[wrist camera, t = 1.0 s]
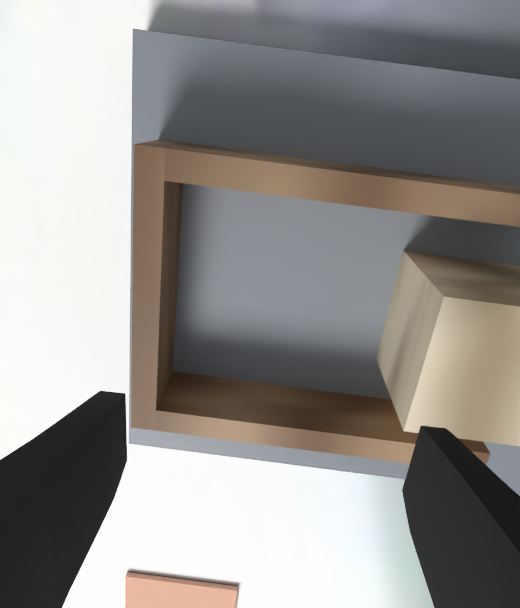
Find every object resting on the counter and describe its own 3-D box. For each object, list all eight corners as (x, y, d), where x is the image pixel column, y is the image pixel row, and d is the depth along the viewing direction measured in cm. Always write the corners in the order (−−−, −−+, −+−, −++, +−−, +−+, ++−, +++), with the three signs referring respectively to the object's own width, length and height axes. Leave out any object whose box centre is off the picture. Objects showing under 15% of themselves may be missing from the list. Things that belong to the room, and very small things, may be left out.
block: (526, 266, 18) (609, 318, 14) (487, 373, 20) (548, 449, 16) (403, 250, 18) (444, 296, 14) (376, 358, 20) (403, 431, 16)
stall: (541, 189, 17) (591, 203, 14) (457, 426, 21) (482, 473, 19) (158, 139, 17) (133, 144, 14) (150, 386, 21) (130, 427, 18)
